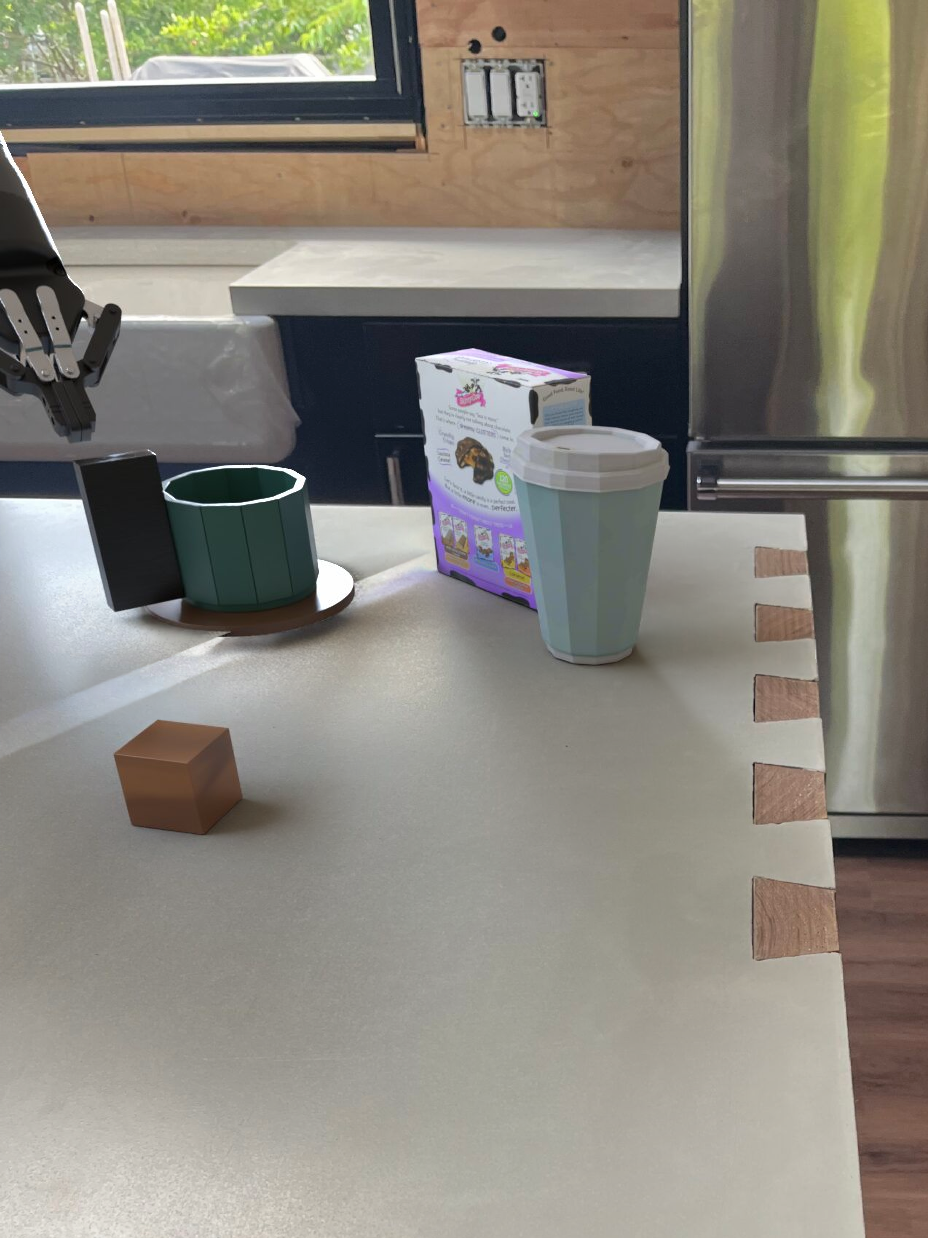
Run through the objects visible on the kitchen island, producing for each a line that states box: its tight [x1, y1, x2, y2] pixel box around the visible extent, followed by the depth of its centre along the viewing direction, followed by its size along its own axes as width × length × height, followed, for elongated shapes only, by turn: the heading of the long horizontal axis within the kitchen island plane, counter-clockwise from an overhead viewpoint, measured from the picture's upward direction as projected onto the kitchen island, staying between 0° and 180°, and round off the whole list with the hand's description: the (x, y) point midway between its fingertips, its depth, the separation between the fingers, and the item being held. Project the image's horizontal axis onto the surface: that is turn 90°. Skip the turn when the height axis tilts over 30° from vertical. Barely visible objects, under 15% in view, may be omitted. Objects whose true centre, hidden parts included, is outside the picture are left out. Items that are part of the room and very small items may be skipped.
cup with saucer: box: [72, 449, 356, 638], centre depth 95 cm, size 18×15×11 cm
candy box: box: [414, 348, 593, 610], centre depth 101 cm, size 14×6×16 cm, turn 46°
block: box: [112, 719, 243, 835], centre depth 74 cm, size 4×4×4 cm
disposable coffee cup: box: [508, 425, 671, 666], centre depth 91 cm, size 11×11×15 cm
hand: (81, 435), depth 95 cm, fingers closed
